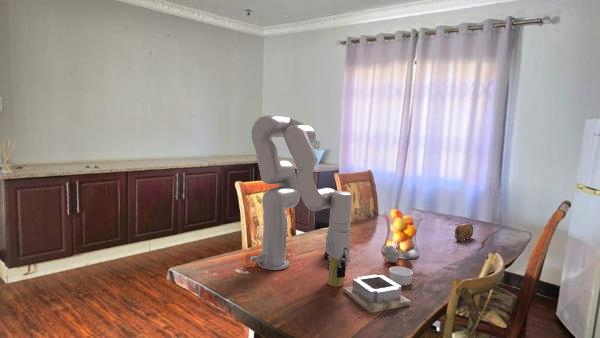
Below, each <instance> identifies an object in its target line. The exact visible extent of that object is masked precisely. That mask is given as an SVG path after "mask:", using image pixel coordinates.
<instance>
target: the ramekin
mask: <svg viewBox="0 0 600 338" xmlns="http://www.w3.org/2000/svg"><path fill="white" fill-rule="evenodd" d="M388 272H389V279H390V280H392V281H393V282H395V283H396V284H398V285H400V286H409V285H410V284H411V283H412V278H413V274H414V272H413V270H412V269H410V268H407V267H404V266H391V267H389V269H388Z"/></svg>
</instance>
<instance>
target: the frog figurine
mask: <svg viewBox="0 0 600 338" xmlns="http://www.w3.org/2000/svg"><path fill="white" fill-rule="evenodd" d="M383 251H384V254H385V256H386V260H387V261H388V262H389V263H396V262H397V261H398V259H399V257H400V252H399V250H397V249H396V248H395V247H394V246H393V245H388V246H386V247H384V248H383Z"/></svg>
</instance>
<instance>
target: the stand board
mask: <svg viewBox="0 0 600 338" xmlns="http://www.w3.org/2000/svg"><path fill="white" fill-rule="evenodd" d="M352 288H353V285H352V286H345V287H343V289H342V290H343V291H342V292H343V293H344V294H345V295H347V296H348V297H349V298H350V299H352V300H353V301H355V303H357V304H358V305H359V306H361V307H362V308H363V309H364V310H366V311H367V312H368V313H369V314H372V313H377V312H382V311H386V310H392V309H393V310H394V309H397V308H402V307H409V306H411V300H410V299H408V298H407V297H405V296H403V295H402V294H401V298H398V300H396V301H391V302H385V303H380V304H376V303H371V304H370V303H369V302H367V301H366V300H365V299H363V298H362V297H361V296H359V295H358V294H357V293H355V292H354V291H353V290H352ZM373 289H374V290H375V289H380V288H379V287H378V288H373Z"/></svg>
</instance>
